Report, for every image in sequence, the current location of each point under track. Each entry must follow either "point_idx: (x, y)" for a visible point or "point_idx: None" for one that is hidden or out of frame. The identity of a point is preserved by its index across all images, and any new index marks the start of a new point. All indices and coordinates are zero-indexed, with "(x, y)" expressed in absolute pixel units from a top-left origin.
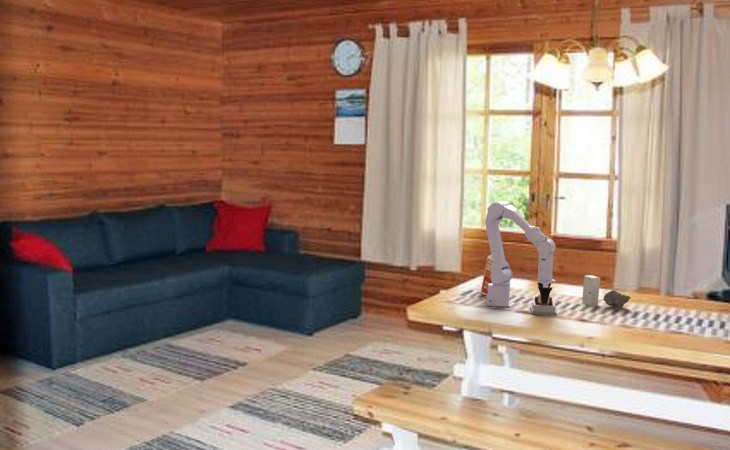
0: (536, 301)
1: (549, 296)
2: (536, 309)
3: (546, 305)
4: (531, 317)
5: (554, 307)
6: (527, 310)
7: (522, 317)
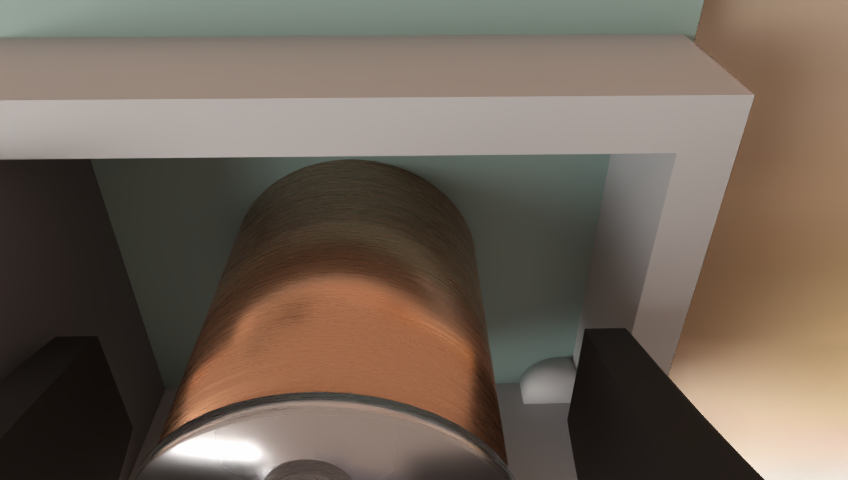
0: None
1: (397, 413)
2: None
3: (468, 280)
4: (832, 389)
5: (732, 107)
6: None
7: (821, 473)
